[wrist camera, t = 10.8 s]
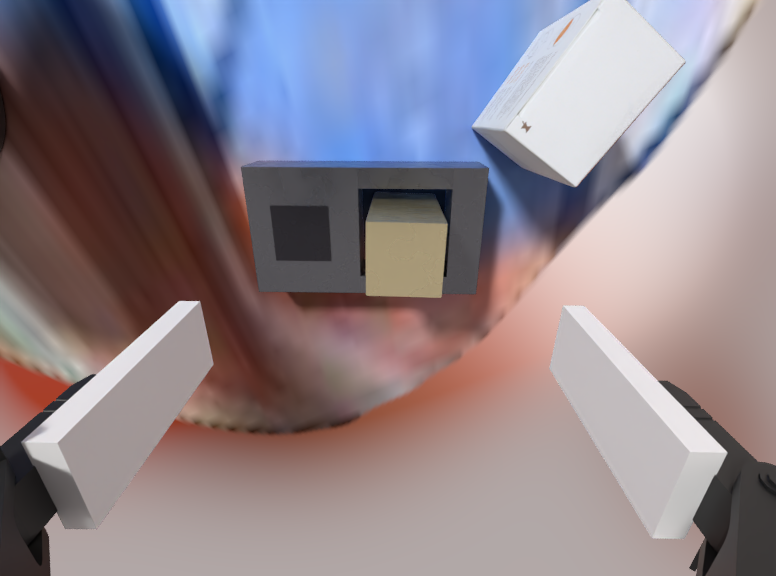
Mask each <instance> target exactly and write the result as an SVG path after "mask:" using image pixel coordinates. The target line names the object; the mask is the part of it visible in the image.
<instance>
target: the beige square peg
mask: <svg viewBox="0 0 776 576" xmlns="http://www.w3.org/2000/svg"><path fill="white" fill-rule="evenodd" d="M447 226H448V223H447V221H446V219H445V217H444V214H443V212H442V210H441V208H440V205H439V203H438V201H437V199H436V196H435V194H434V193H405V192H375V193H374V196H373V199H372V203H371V206H370V209H369V212H368V216H367V219H366V240H365V248H366V296H394V297H429V298H441V297H442V285H443V273H444V261H445V250H446V238H447Z"/></svg>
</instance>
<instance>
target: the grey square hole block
mask: <svg viewBox="0 0 776 576" xmlns="http://www.w3.org/2000/svg"><path fill="white" fill-rule="evenodd" d="M241 171H242V177H243V184H244V191H245V198H246V205H247V212H248V219H249V226H250V233H251V240H252V246H253V253H254V260H255V267H256V274H257V281H258V288H259V292H335V293H366V259H364V228H363V189H446V197H445V214H444V217H445V219H446V221H447V223H448V226H447V238H446V250H445V261H444V273H443V285H442V294H476V288H477V279H478V269H479V259H480V250H481V240H482V231H483V221H484V211H485V202H486V192H487V182H488V173H489V168H488V167H486V166H484V165H483V164H481V163H479V162H385V161H257V162H254V163H251V164H248V165H245V166H242V167H241Z"/></svg>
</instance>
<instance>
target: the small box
mask: <svg viewBox="0 0 776 576" xmlns="http://www.w3.org/2000/svg"><path fill="white" fill-rule="evenodd" d="M684 64H685V60H684V59H683V58H682V57H681V56H680V55H679V54H678V53H677V52H676V51H675V50H674V49H673V48H672V46H671V45H670V44H669V43H668V42H667V41H666V40H665V39H664V38H663V37H662V36H661V35H660V34H659V33H658V32H657V31H656V30H655V29H654V28H653V27H652V26H651V25H650V24H649V23H648V22H647V21H646V20H645V19H644V18H643V17H642V16H641V15H640V14H639V13H638V12H637V11H636V10H635V9H634V8H633V7H632V6H631V5H630V4H629V3H628V2H627V1H626V0H590V1H589V2H587V3H585V4H584V5H582V6H580V7H579V8H577V9H575V10H574V11H572V12H571V13H569V14H567V15H566V16H564V17H562V18H561V19H559V20H558V21H556V22H554V23H553V24H551V25H550V26H548V27H546V28H545V29H543V30H541V31H540V32H539V33H538V35H537V36H536V38H535V39H534V41H533V42H532V43H531V45H530V46H529V48H528V49H527V50H526V52H525V53H524V55H523V56H522V57H521V59H520V60H519V62H518V63H517V64H516V66H515V67H514V68H513V70H512V71H511V73H510V74H509V75H508V77H507V78H506V80H505V81H504V82H503V84H502V85H501V87H500V88H499V89H498V91H497V92H496V93H495V95H494V96H493V98H492V99H491V101H490V102H489V103H488V105H487V106H486V107H485V109H484V110H483V112H482V113H481V114H480V116H479V117H478V119H477V120H476V121H475V123H474V124H473V125H472V129H474V130H475V131H476V132H478V133H479V134H480V135H481V136H483V137H484V138H485V139H486V140H488V141H489V142H490V143H491V144H493V145H494V146H495V147H496V148H498V149H499V150H500V151H501V152H503V153H504V154H505V155H506V156H508V157H509V158H510V159H511V160H513V161H514V162H515V163H516V164H518V165H519V166H520V167H522V168H523V169H526V170H529V171H531V172H534V173H537V174H539V175H542V176H545V177H547V178H550V179H553V180H555V181H558V182H560V183H563V184H566V185H569V186H572V187H577V186H578V185H579V184H580V183H581V181H582V180H583V179H584V178H585V177H586V176H587V175H588V174H589V172H590V171H591V170H592V169H593V168H594V167H595V166H596V164H597V163H598V162H599V161H600V160H601V159H602V157H603V156H604V155H605V154H606V153H607V152H608V151H609V149H610V148H611V147H612V146H613V145H614V144H615V142H616V141H617V140H618V139H619V138H620V137H621V135H622V134H623V133H624V132H625V131H626V130H627V129H628V128H629V126H630V125H631V124H632V123H633V122H634V121H635V120H636V118H637V117H638V116H639V115H640V114H641V113H642V112H643V110H644V109H645V108H646V107H647V106H648V105H649V103H650V102H651V101H652V100H653V99H654V98H655V97H656V95H657V94H658V93H659V92H660V91H661V90H662V89H663V88H664V86H665V85H666V84H667V83H668V82H669V81H670V80H671V78H672V77H673V76H674V75H675V74H676V73H677V71H678V70H679V69H680V68H681V67H682V66H683V65H684Z"/></svg>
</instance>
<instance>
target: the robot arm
mask: <svg viewBox="0 0 776 576" xmlns="http://www.w3.org/2000/svg"><path fill="white" fill-rule="evenodd" d="M4 138H5V112H4V106H3V101H2V97H1V93H0V152H1V149H2V146H3V142H4ZM212 366H213V359H212V354H211V350H210V345H209V340H208V336H207V331H206V326H205V322H204V317H203V312H202V308H201V303H200V301H179V302H177V303H176V304H175V305H174V306H173V307H172V308H171V309H170V310H168V311H167V312H166V313H165V314H164V315H163V316H162V317H161V318H160V319H158V320H157V321H156V322H155V323H154V324H153V325H152V326H151V327H149V328H148V329H147V330H146V331H145V332H144V333H143V334H142V335H140V336H139V337H138V338H137V339H136V340H135V341H134V342H133V343H131V344H130V345H129V346H128V347H127V348H126V349H125V350H124V351H123V352H121V353H120V354H119V355H118V356H117V357H116V358H115V359H114V360H112V361H111V362H110V363H109V364H108V365H107V366H106V367H105V368H103V369H102V370H101V371H100V372H99V373H98V374H91V375H90V376H88V377H86V378H84V379H82V380H81V381H79V382H77V383H75V384H73V385H72V386H70V387H69V388H68V389H67V390H66V391H65V392H63V393H62V394H61V395H60V396H59V397H58V398H57V399H56V401H53V402H52V403H51V404H50V405H48V406H47V407H46V408H45V409H44V411H43V412H41V413H39V414H38V415H37V416H35V417H34V418H33V419H32V420H31V421H30V422H28V423H27V424H26V425H25V426H24V427H23V428H21V429H20V430H19V431H18V432H17V433H16V434H14V436H12V437H11V438H10V439H9V440H7V441H6V442H5V443H4V444H3V445H2V446H0V576H50V556H49V555H50V553H49V536H48V534H47V532H46V529H45V528H44V526H45V525H46V524H47V523H48V521H49V520H50V519H51V518H52V517H53V515H54V514H55V513H56V512H57V514H58V516H59V518H60V520H61V522H62V524H63V526H64V528H65V529H98V527H99V526H100V524H101V523H102V522H103V520H104V519H105V517H106V516H107V514H108V513H109V511H110V510H111V509H112V507H113V506H114V504H115V503H116V502H117V500H118V499H119V497H120V496H121V495H122V493H123V492H124V490H125V489H126V488H127V486H128V485H129V483H130V482H131V481H132V479H133V478H134V476H135V475H136V473H137V472H138V470H139V469H140V468H141V466H142V465H143V464H144V462H145V461H146V459H147V458H148V456H149V455H150V454H151V452H152V451H153V449H154V448H155V447H156V445H157V444H158V442H159V441H160V439H161V438H162V436H163V435H164V434H165V432H166V431H167V430H168V428H169V427H170V425H171V424H172V422H173V421H174V420H175V418H176V417H177V415H178V414H179V413H180V411H181V410H182V408H183V407H184V405H185V404H186V403H187V401H188V400H189V398H190V397H191V396H192V394H193V393H194V391H195V390H196V388H197V387H198V386H199V384H200V383H201V381H202V380H203V379H204V377H205V376H206V374H207V373H208V371H209V370H210V369H211V367H212ZM549 369H550V370H551V372H552V374H553V375H554V377H555V379H556V380H557V382H558V384H559V385H560V387H561V389H562V390H563V392H564V394H565V395H566V397H567V399H568V400H569V402H570V404H571V405H572V407H573V408H574V410H575V412H576V414H577V415H578V417H579V418H580V420H581V422H582V424H583V425H584V427H585V428H586V430H587V432H588V433H589V435H590V437H591V438H592V440H593V442H594V443H595V445H596V447H597V448H598V450H599V452H600V453H601V455H602V457H603V458H604V460H605V461H606V463H607V465H608V467H609V468H610V470H611V472H612V473H613V475H614V476H615V478H616V480H617V482H618V483H619V485H620V486H621V488H622V490H623V491H624V493H625V495H626V496H627V498H628V500H629V501H630V503H631V505H632V506H633V508H634V509H635V511H636V513H637V515H638V516H639V518H640V520H641V521H642V523H643V525H644V526H645V528H646V529H647V531H648V533H649V535H650V536H651V538H654V539H656V538H657V539H659V538H660V539H685V537H686V535H687V533H688V531H689V529H690V527H691V525H692V523H693V521H694V523H695V524H696V525H697V527H698V528H699V529H700V531H701V532H702V534H703V535H704V536H705V539H704V541H703V543H702V545H701V547H700V549H699V551H698V553H697V554H696V556H695V558H694V560H693V562H692V564H691V566H690V567H689V568H690V569H691V570H693V571H696V569H697V574H696V576H776V466H775V465H772V464H769V463H765V462H757V460H756V459H754V458H753V456H751V455H750V454H749V453H748V452H747V451H746V450H745V449H744V448H743V447H742V446H741V445H740V444H739V443H738V442H737V441H736V440H735V439H734V438H733V437H732V436H731V435H730V434H729V433H728V432H726V430H725V429H724V428H722V427H721V426H720V425H719V424H718V423H717V422H716V421H713V420H712V417H711V416H710V415H709V414H708V413H707V412H706V411H705V410H704V409H701V407H700V405H698V403H697V402H695V400H693V399H692V398H691V397H690V396H689V395H688V394H687V393H686V392H684V391H683V390H681V389H680V388H678V387H676V386H675V385H673V384H671V383H670V382H668V381H657V380H656V379H655V378H654V377H653V376H652V375H651V374H650V373H649V372H648V371H647V369H646V368H645V367H644V366H643V365H641V363H640V362H639V361H638V360H637V359H636V358H635V357H634V356H633V355H632V354H631V353H630V352H629V351H628V350H627V349H626V348H625V347H624V346H623V345H622V344H621V343H620V342H619V341H618V340H617V339H616V338H615V337H614V336H613V335H612V334H611V333H610V332H609V331H608V330H607V329H606V327H604V326H603V325H602V323H601V322H600V321H599V320H598V319H597V318H596V317H595V316H594V315H593V314H592V313H591V312H590V311H589V310H588V309H587V308H586V307H585V306H563V308H562V313H561V318H560V322H559V326H558V331H557V336H556V340H555V345H554V349H553V354H552V359H551V364H550V368H549Z"/></svg>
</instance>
